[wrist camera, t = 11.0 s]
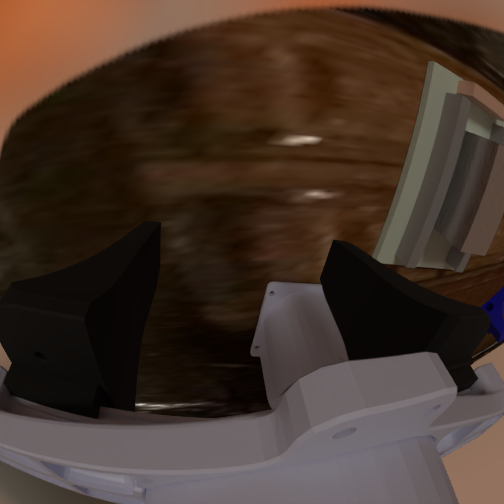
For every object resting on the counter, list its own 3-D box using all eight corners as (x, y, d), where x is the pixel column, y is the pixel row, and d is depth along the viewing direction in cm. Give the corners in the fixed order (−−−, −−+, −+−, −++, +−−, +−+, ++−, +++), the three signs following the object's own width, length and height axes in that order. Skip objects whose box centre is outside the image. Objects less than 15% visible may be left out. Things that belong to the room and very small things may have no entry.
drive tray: (453, 266, 27) (467, 280, 25) (371, 257, 25) (385, 276, 22) (505, 115, 18) (524, 121, 16) (428, 61, 16) (450, 62, 13)
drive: (453, 228, 23) (485, 255, 19) (426, 222, 23) (460, 251, 18) (482, 142, 19) (520, 159, 15) (456, 127, 18) (499, 143, 14)
